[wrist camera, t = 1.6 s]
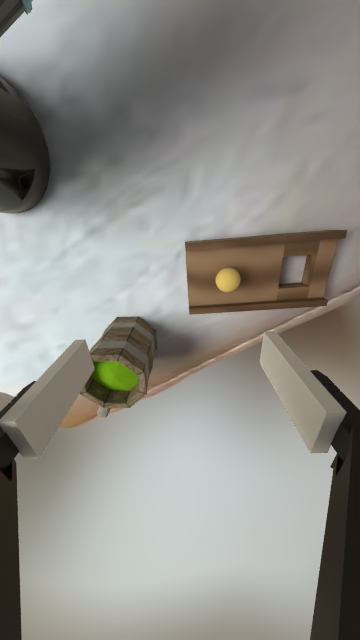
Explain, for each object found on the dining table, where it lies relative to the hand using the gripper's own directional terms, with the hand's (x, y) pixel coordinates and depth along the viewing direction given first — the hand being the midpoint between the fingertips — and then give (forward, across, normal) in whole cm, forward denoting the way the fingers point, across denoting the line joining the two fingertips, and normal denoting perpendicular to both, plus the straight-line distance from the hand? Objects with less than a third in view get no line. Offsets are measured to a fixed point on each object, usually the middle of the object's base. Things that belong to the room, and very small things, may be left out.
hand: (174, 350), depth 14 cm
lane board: (+21, +12, +1) cm, 24 cm away
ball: (+16, +7, +1) cm, 18 cm away
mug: (+21, -11, -14) cm, 27 cm away
